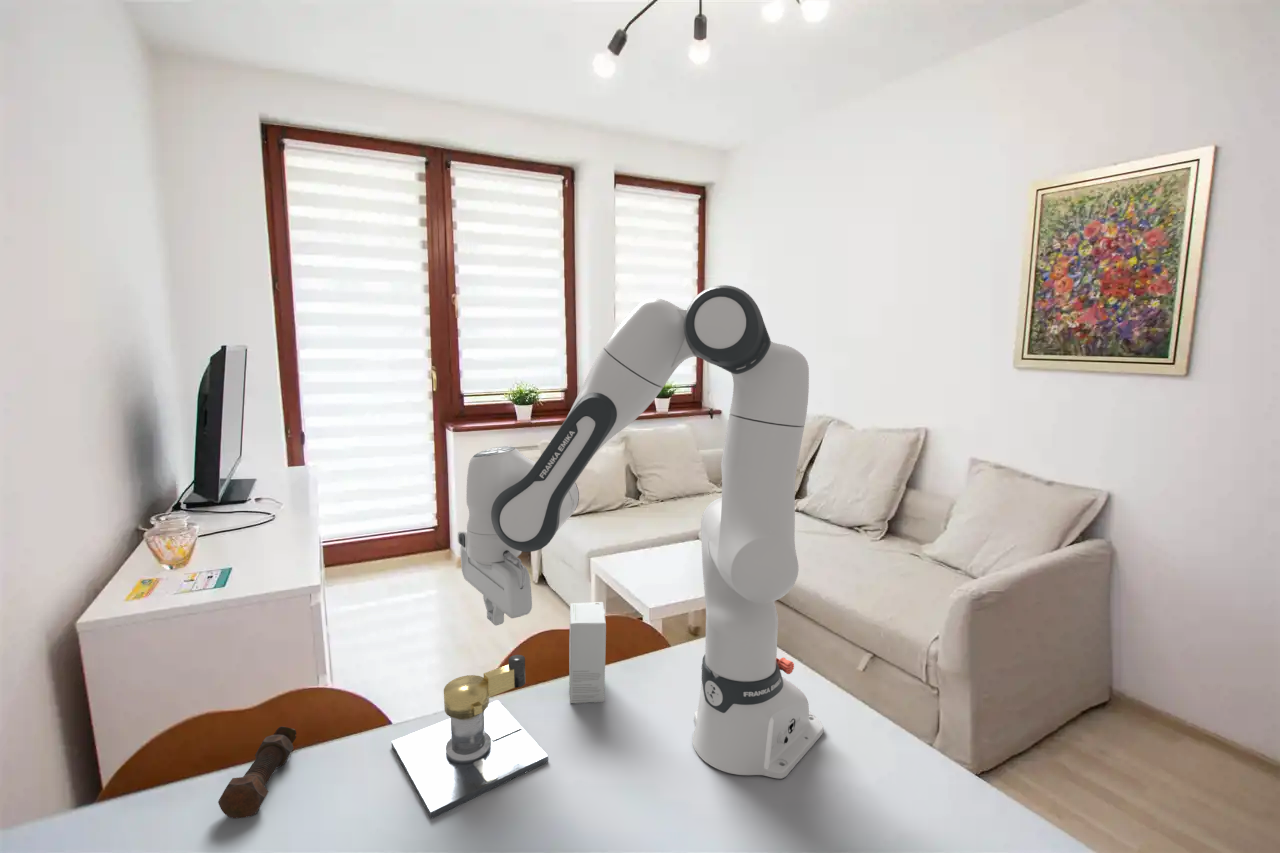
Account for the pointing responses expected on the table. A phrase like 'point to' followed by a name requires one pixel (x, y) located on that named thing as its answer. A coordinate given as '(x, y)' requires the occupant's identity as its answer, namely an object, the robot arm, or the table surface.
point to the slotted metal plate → (466, 757)
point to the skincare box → (587, 652)
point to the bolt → (257, 775)
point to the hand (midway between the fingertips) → (495, 621)
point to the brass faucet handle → (482, 688)
